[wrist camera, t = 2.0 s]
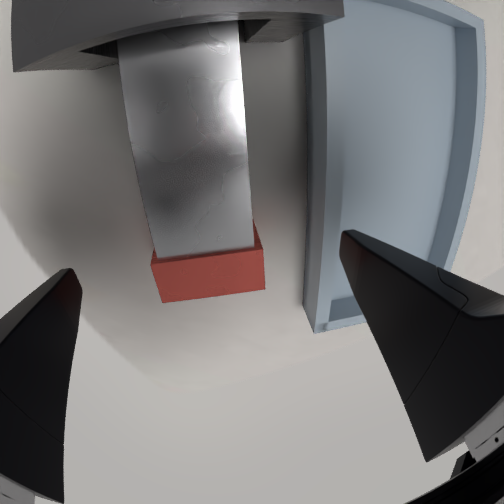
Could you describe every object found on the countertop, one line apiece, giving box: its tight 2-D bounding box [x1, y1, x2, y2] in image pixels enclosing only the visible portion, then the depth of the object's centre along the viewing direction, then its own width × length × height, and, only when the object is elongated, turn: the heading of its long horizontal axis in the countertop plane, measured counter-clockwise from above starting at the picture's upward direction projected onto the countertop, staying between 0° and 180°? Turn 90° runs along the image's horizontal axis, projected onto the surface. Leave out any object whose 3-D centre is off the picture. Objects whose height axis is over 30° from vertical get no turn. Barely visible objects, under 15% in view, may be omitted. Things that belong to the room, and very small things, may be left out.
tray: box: [303, 0, 486, 334], centre depth 13 cm, size 10×19×2 cm, turn 3°
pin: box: [117, 20, 265, 303], centre depth 10 cm, size 4×15×4 cm, turn 3°
